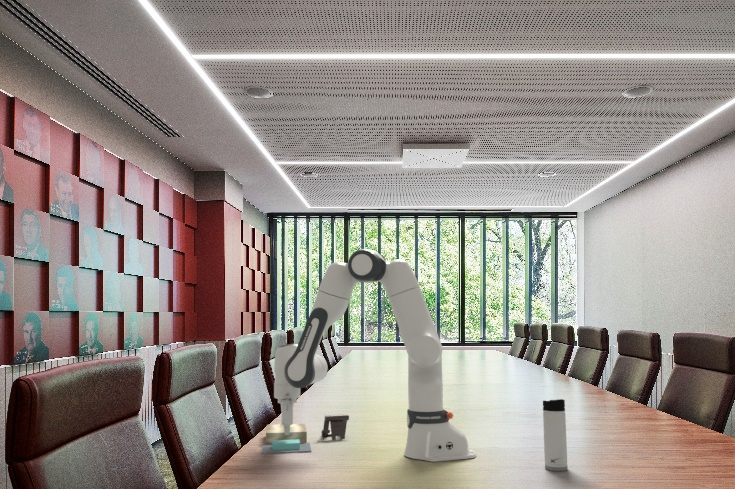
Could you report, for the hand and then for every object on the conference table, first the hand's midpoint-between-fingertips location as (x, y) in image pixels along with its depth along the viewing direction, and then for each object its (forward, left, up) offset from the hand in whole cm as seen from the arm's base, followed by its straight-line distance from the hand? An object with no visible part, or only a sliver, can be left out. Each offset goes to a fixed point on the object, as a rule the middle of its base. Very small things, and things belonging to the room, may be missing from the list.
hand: (287, 434), depth 207 cm
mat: (0, 0, -5) cm, 5 cm away
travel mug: (-77, +40, -5) cm, 87 cm away
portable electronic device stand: (-18, -16, -5) cm, 25 cm away
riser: (0, -15, -5) cm, 16 cm away
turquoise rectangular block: (0, 0, -2) cm, 2 cm away
